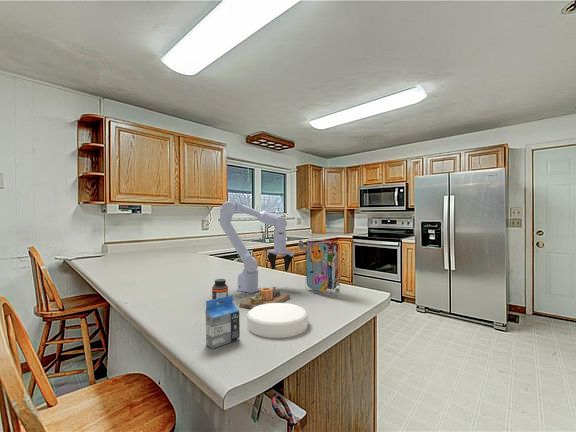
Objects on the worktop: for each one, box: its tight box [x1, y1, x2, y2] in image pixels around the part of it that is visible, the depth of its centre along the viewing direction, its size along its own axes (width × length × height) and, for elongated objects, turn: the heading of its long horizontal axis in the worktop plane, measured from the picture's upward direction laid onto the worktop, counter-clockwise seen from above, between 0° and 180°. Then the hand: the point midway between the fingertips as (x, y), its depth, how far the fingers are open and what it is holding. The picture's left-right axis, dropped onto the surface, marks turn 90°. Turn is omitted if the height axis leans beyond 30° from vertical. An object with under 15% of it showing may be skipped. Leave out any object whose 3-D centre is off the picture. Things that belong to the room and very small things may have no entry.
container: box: [246, 302, 309, 339], centre depth 94 cm, size 20×20×5 cm
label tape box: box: [205, 294, 241, 350], centre depth 81 cm, size 9×4×12 cm, turn 133°
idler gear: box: [258, 286, 273, 301], centre depth 117 cm, size 6×6×4 cm
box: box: [297, 238, 341, 299], centre depth 134 cm, size 25×6×24 cm, turn 39°
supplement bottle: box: [211, 278, 229, 305], centre depth 109 cm, size 6×6×11 cm
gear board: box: [239, 286, 291, 310], centre depth 117 cm, size 11×20×5 cm, turn 149°
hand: (279, 269), depth 138 cm, fingers open, 7 cm apart
